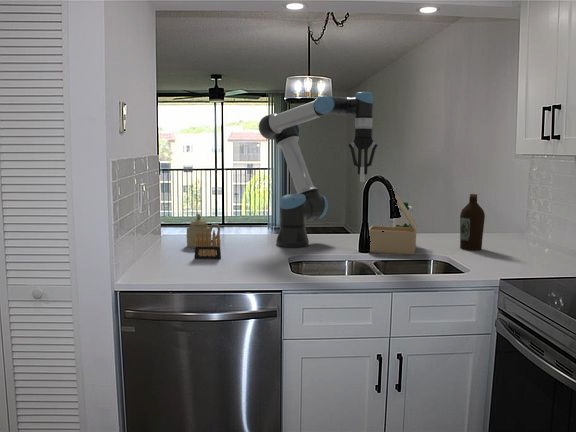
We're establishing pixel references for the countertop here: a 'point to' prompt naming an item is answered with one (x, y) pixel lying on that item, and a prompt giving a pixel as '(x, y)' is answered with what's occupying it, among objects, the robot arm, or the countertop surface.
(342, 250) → the countertop surface
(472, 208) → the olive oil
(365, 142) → the robot arm
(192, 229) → the sugar bowl
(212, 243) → the ammunition clip
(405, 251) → the carton
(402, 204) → the carton flap
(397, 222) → the milk carton
